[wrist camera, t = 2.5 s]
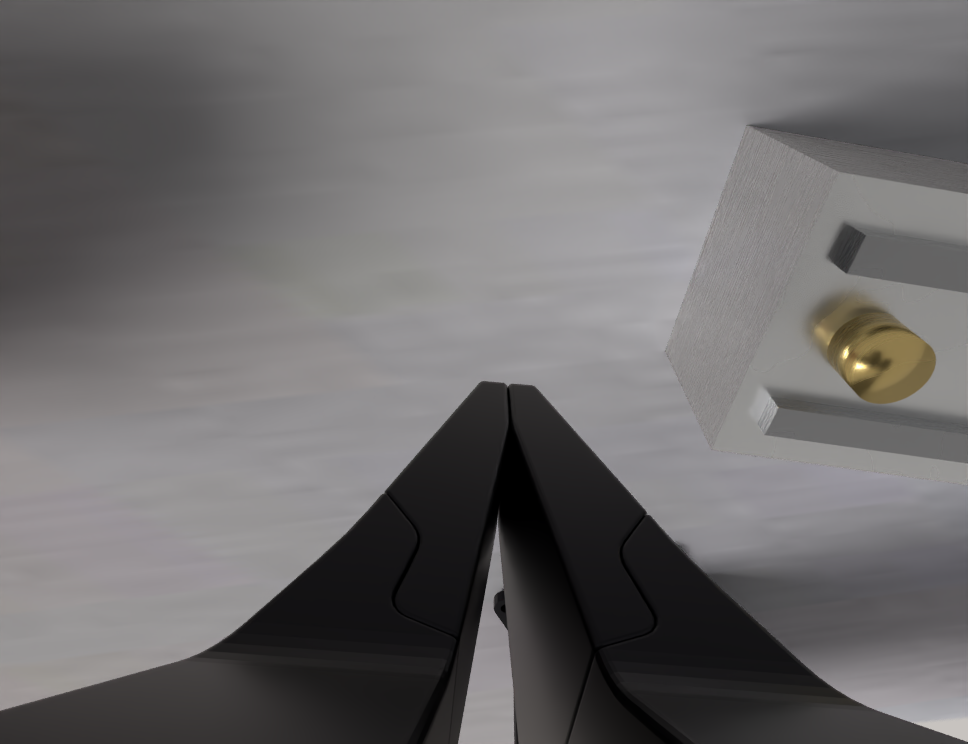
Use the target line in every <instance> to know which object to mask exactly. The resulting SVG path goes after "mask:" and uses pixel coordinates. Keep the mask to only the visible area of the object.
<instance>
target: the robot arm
mask: <svg viewBox="0 0 968 744" xmlns="http://www.w3.org/2000/svg"><path fill="white" fill-rule="evenodd" d="M497 518H498V528H499V542H500V552H501V563H502V573H503V584H504V591H501V592H499V593H497V594H496V595H495V597H494V611H495V613H496V614H497V616H498V617H499V618H500V620H501V621H502V623H503V624H504V626H505V627H506V628H507V630H508V636H509V647H510V657H511V668H512V678H513V689H514V739H515V744H968V742H966V741H963V740H960V739H957V738H954V737H952V736H949V735H945V734H943V733H940V732H937V731H934V730H931V729H928V728H925V727H923V726H920V725H917V724H914V723H911V722H908V721H905V720H902V719H899V718H896V717H894V716H891V715H888V714H885V713H882V712H879V711H877V710H874V709H872V708H869V707H867V706H865V705H863V704H861V703H859V702H857V701H855V700H853V699H851V698H849V697H847V696H846V695H844V694H842V693H841V692H839V691H837V690H836V689H834V688H833V687H831V686H830V685H829V684H827V683H826V682H825V681H823V680H822V679H820V678H819V677H818V676H817V675H815V674H814V673H813V672H812V671H811V670H810V669H808V668H807V667H806V666H805V665H804V664H803V663H801V662H800V661H799V660H798V659H797V658H796V657H795V656H794V655H793V654H792V653H791V652H790V651H788V650H787V649H786V648H785V647H784V646H783V645H782V644H781V643H780V642H779V641H778V640H776V639H775V638H774V637H773V636H772V635H771V634H770V633H769V632H768V631H767V630H766V629H765V628H763V627H762V626H761V625H760V624H759V623H758V622H757V621H756V620H755V619H754V618H753V617H751V616H750V615H749V614H748V613H747V612H746V611H745V610H744V609H743V608H742V607H741V606H740V605H738V604H737V603H736V602H735V601H734V600H733V599H732V598H731V597H730V596H729V595H728V594H726V593H725V592H724V591H723V590H722V589H721V588H720V587H719V586H718V585H717V584H716V583H715V582H714V581H713V580H712V579H711V578H710V577H709V576H708V575H707V574H705V573H704V572H703V571H702V570H701V569H700V568H699V567H698V566H697V565H696V564H695V563H694V562H693V561H692V560H691V559H690V558H689V557H688V556H687V555H686V554H685V553H684V552H683V551H682V550H681V548H680V547H679V546H678V545H677V544H676V543H675V542H674V541H673V540H672V539H671V538H670V537H669V536H668V535H667V534H666V533H665V531H664V530H663V529H662V528H661V527H660V526H659V525H658V524H657V522H656V521H655V520H654V519H653V518H652V517H651V516H650V515H647V512H646V510H645V509H644V508H643V507H642V506H641V505H640V504H639V503H638V501H637V500H636V499H635V498H634V497H633V496H632V495H631V494H630V492H629V491H628V490H627V489H626V488H625V487H624V486H623V485H622V483H621V482H620V481H619V480H618V479H617V478H616V477H615V476H614V474H613V473H612V472H611V471H610V470H609V469H608V468H607V467H606V465H605V464H604V463H603V462H602V461H601V460H600V459H599V458H598V456H597V455H596V454H595V453H594V452H593V451H592V450H591V449H590V447H589V446H588V445H587V444H586V443H585V442H584V441H583V440H582V438H581V437H580V436H579V435H578V434H577V433H576V432H575V431H574V430H573V428H572V427H571V426H570V425H569V424H568V423H567V422H566V421H565V419H564V418H563V417H562V416H561V415H560V414H559V413H558V412H557V410H556V409H555V408H554V407H553V406H552V405H551V404H550V403H549V401H548V400H547V399H546V398H545V397H544V396H543V395H542V394H541V392H540V391H539V390H538V389H537V388H536V387H535V386H532V385H522V384H510V385H509V386H508V388H507V385H506V384H505V383H499V382H487V381H482V382H480V383H479V384H478V385H477V386H476V388H475V389H474V390H473V391H472V392H471V393H470V394H469V396H468V397H467V398H466V399H465V400H464V401H463V402H462V404H461V405H460V406H459V407H458V408H457V409H456V410H455V412H454V413H453V414H452V415H451V416H450V417H449V418H448V420H447V421H446V422H445V423H444V424H443V425H442V426H441V428H440V429H439V430H438V431H437V432H436V433H435V434H434V436H433V437H432V438H431V439H430V440H429V441H428V442H427V444H426V445H425V446H424V447H423V448H422V449H421V450H420V452H419V453H418V454H417V455H416V456H415V457H414V459H413V460H412V461H411V462H410V463H409V464H408V465H407V467H406V468H405V469H404V470H403V471H402V472H401V473H400V475H399V476H398V477H397V478H396V479H395V480H394V481H393V483H392V484H391V485H390V486H389V487H388V488H387V489H386V491H385V493H384V494H382V495H381V496H380V497H379V498H378V499H377V500H376V502H375V503H374V504H373V505H372V506H371V507H370V509H369V510H368V511H367V512H366V513H365V514H364V515H363V516H362V517H361V518H360V519H359V520H358V521H357V522H356V524H355V525H354V526H353V527H352V528H351V529H350V530H349V531H348V532H347V533H346V534H345V535H344V536H343V537H342V538H341V539H339V540H338V541H337V542H336V543H335V544H334V545H333V546H332V547H331V548H330V549H329V550H328V551H326V552H325V553H324V554H323V555H322V556H321V557H320V558H319V559H318V560H317V561H315V562H314V563H313V564H312V565H311V566H310V567H309V568H307V569H306V570H305V571H304V572H303V573H302V574H301V575H299V576H298V577H297V578H296V579H295V580H294V581H292V582H291V583H290V584H289V585H288V586H287V587H286V588H284V589H283V590H282V591H281V592H280V593H279V594H278V595H276V596H275V597H274V598H273V599H272V600H271V601H270V602H268V603H267V604H266V605H265V606H264V607H263V608H262V609H260V610H259V611H258V612H257V613H256V614H255V615H253V616H252V617H251V618H250V619H249V620H248V621H247V622H245V623H244V624H243V625H242V626H241V627H239V628H238V629H237V630H236V631H234V632H233V633H232V634H230V635H229V636H227V637H226V638H225V639H223V640H222V641H220V642H219V643H217V644H216V645H214V646H212V647H210V648H209V649H207V650H205V651H203V652H201V653H199V654H197V655H195V656H192V657H190V658H187V659H184V660H181V661H178V662H174V663H171V664H167V665H163V666H160V667H156V668H153V669H149V670H145V671H142V672H138V673H135V674H131V675H127V676H124V677H120V678H117V679H113V680H109V681H106V682H102V683H99V684H95V685H91V686H88V687H84V688H81V689H77V690H73V691H70V692H66V693H63V694H59V695H55V696H52V697H48V698H45V699H41V700H37V701H34V702H30V703H27V704H23V705H19V706H16V707H12V708H9V709H5V710H1V711H0V744H458V740H459V734H460V728H461V723H462V717H463V712H464V706H465V701H466V695H467V689H468V684H469V678H470V673H471V667H472V662H473V656H474V650H475V645H476V639H477V634H478V628H479V623H480V617H481V611H482V606H483V600H484V595H485V589H486V584H487V578H488V572H489V567H490V561H491V556H492V550H493V545H494V539H495V533H496V526H497Z"/></svg>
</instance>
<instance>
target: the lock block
mask: <svg viewBox="0 0 968 744" xmlns="http://www.w3.org/2000/svg"><path fill="white" fill-rule="evenodd" d="M665 353H666V355H667V357H668V359H669V361H670V363H671V365H672V367H673V369H674V372H675V374H676V376H677V378H678V380H679V382H680V384H681V386H682V389H683V391H684V393H685V395H686V397H687V399H688V401H689V403H690V405H691V408H692V410H693V412H694V414H695V416H696V418H697V420H698V422H699V425H700V427H701V429H702V431H703V433H704V435H705V437H706V439H707V442H708V444H709V446H710V448H711V450H715V451H722V452H729V453H737V454H744V455H751V456H759V457H766V458H773V459H781V460H788V461H795V462H802V463H810V464H817V465H824V466H832V467H839V468H846V469H853V470H861V471H868V472H875V473H883V474H890V475H897V476H904V477H912V478H919V479H926V480H934V481H941V482H948V483H955V484H963V485H968V164H967V163H961V162H956V161H950V160H944V159H938V158H933V157H927V156H921V155H915V154H910V153H904V152H898V151H892V150H887V149H881V148H875V147H869V146H864V145H858V144H852V143H846V142H841V141H835V140H829V139H823V138H818V137H812V136H806V135H800V134H795V133H789V132H783V131H777V130H772V129H766V128H760V127H754V126H749V125H746V128H745V131H744V134H743V136H742V139H741V142H740V145H739V148H738V150H737V153H736V156H735V159H734V161H733V164H732V167H731V170H730V172H729V175H728V178H727V181H726V183H725V186H724V189H723V192H722V194H721V197H720V200H719V203H718V205H717V208H716V211H715V214H714V217H713V219H712V222H711V225H710V228H709V230H708V233H707V236H706V239H705V241H704V244H703V247H702V250H701V252H700V255H699V258H698V261H697V263H696V266H695V269H694V272H693V275H692V277H691V280H690V283H689V286H688V288H687V291H686V294H685V297H684V299H683V302H682V305H681V308H680V310H679V313H678V316H677V319H676V321H675V324H674V327H673V330H672V332H671V335H670V338H669V341H668V344H667V346H666V349H665Z"/></svg>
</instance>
